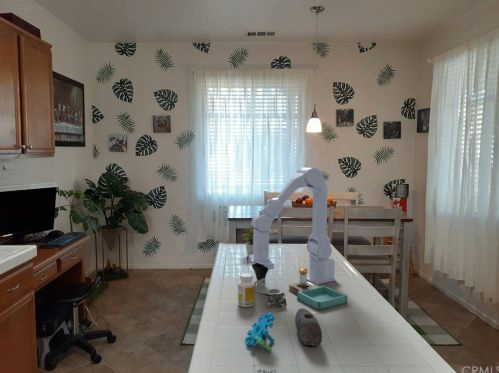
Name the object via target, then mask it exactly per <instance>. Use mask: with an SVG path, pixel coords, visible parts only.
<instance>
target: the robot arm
mask: <svg viewBox="0 0 499 373" xmlns="http://www.w3.org/2000/svg"><path fill="white" fill-rule="evenodd" d="M304 187H307V188H308V189H309V190H310V191H312V217H311V218H312V222H311V223H312V224H311V226H312V227H311V233H310V234H309V236H308V241H307V243H306V250H307V252H308V253H309V255H308V256H309V259H308V260H309V263H308V266H309V268H308V272H309V273H308V276H307V281H308V282H311V283H313V284H316V285H321V284H325V283H330V282H335V281H336V280H337V279H336V278H335V272H336V270H335V266H336V265H335V260H334V258H333V257H332V256H331V255H332V252H333V249H332V246H331V242H330V241H331V239H330V237H329V236H328V234H327V227H328V226H327V221H328V220H327V219H328V192H329V190H328V189H329V188H328V184H327V183H326V180H325V178H324V173H323V172H322V171H320V169H319V168H316V167H305V166H302V167H300V168H298V169H297V170H296V172H294V174H292V176H291V178H290V179H289V180H288V182H287V183H286V184H285V186H284V187H283V188H282V190H281V191H280V193H278V195H277V196H276V197H274V198H273V197H272V198H270V199H268V200H267V201H266V205H264V207H263V208H262V209H261V210H259V211H258V214H255V215H254V216H253V217H252V219H251V221H250V226H251V228H252V227H253V254H252V255H249V257H248V260H249V261H250V262H251V263H253V264H252V265H251V267H252V269H253V271H254V273H255V278H256V281H258V280H260V279H263V278H265V279H266V277H267V274H268V272H269V270H273V269H275V263H274V262H273V261H271V259H270V257H269V256H270V254H269V252H270V244H269V243H270V234H269V232H270V229H271V228H272V223H273V222H274V220H276V218H277V217H278V215H279V214H280V213H281V212H282V211H283V209H284V204H285V203H286V202H287V201H288V200H289V198H290V197H291V196H292V195H293V194H294V193H295V192H296V191H297V190H298V189H302V188H304ZM263 283H264V281H263Z"/></svg>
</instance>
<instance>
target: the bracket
mask: <svg viewBox="0 0 499 373" xmlns="http://www.w3.org/2000/svg"><path fill="white" fill-rule="evenodd" d="M263 281H264V283H263ZM254 283H255V292H256V293H258V294H262V295H263V294H264V295H267V296H268V295H269V296H272V294H280V295H282V294H284V293H285V290H284V289H282V288H276V287H271V286H267V285H266V284H267V282H266V277H265V278H263V279H260V280H258V281H257V280H256V281H254Z"/></svg>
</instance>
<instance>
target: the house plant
mask: <svg viewBox="0 0 499 373" xmlns="http://www.w3.org/2000/svg"><path fill="white" fill-rule="evenodd" d="M241 226H242V227H244V228H242V227H241V230H243V231H244V233H241V236H240V238H242V237H244V238H243V240H244V241H247V242H245V247H246V248H245V249H246V254H247V257H248V258H249V255H252V254H253V227H252V225H251V224H250V225H249V226H248V229H247V227H246V226H245V225H242V224H241Z"/></svg>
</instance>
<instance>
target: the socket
mask: <svg viewBox="0 0 499 373" xmlns="http://www.w3.org/2000/svg"><path fill="white" fill-rule="evenodd" d="M288 287H289V288H288V291H289V292H292V293H293V294H295V295H297V292H298V291H303V290H307V289H312V288H316V287H317V286H315V285H313V284H310V283H308V282H307V285H306V288H300V282H296V283H292V284H289V285H288Z"/></svg>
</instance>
